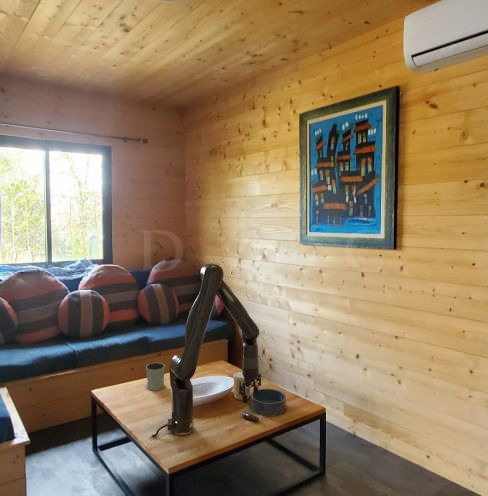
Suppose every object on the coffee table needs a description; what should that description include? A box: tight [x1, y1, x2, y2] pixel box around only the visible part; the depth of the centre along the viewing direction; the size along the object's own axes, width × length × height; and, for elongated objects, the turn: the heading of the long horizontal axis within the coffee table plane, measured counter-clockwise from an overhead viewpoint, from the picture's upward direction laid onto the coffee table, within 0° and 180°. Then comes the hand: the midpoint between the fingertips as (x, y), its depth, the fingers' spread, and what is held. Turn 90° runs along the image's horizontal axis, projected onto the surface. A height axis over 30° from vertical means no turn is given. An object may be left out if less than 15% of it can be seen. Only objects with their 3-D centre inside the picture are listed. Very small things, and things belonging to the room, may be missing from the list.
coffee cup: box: [232, 370, 251, 401], centre depth 219 cm, size 9×9×12 cm
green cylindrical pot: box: [145, 361, 166, 391], centre depth 230 cm, size 10×10×12 cm
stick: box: [242, 411, 260, 423], centre depth 196 cm, size 9×2×2 cm, turn 51°
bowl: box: [250, 388, 287, 417], centre depth 208 cm, size 17×17×6 cm
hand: (250, 399), depth 195 cm, fingers open, 8 cm apart
